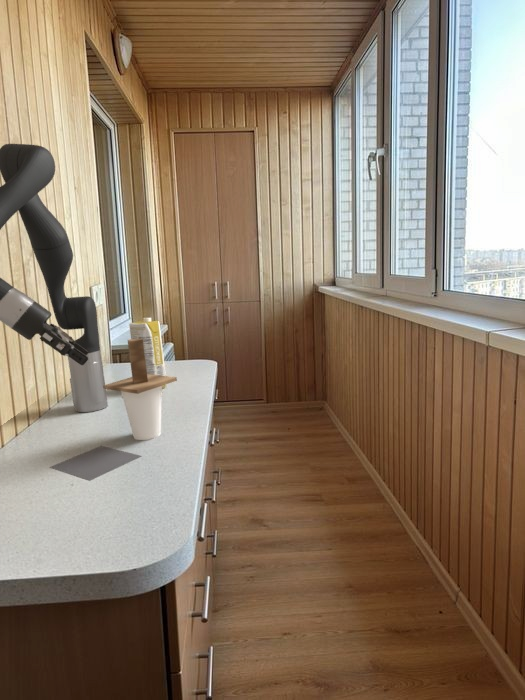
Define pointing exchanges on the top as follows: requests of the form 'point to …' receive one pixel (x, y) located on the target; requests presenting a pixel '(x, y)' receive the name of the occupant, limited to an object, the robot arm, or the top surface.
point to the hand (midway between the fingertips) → (85, 358)
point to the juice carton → (150, 345)
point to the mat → (95, 462)
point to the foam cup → (144, 413)
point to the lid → (139, 372)
